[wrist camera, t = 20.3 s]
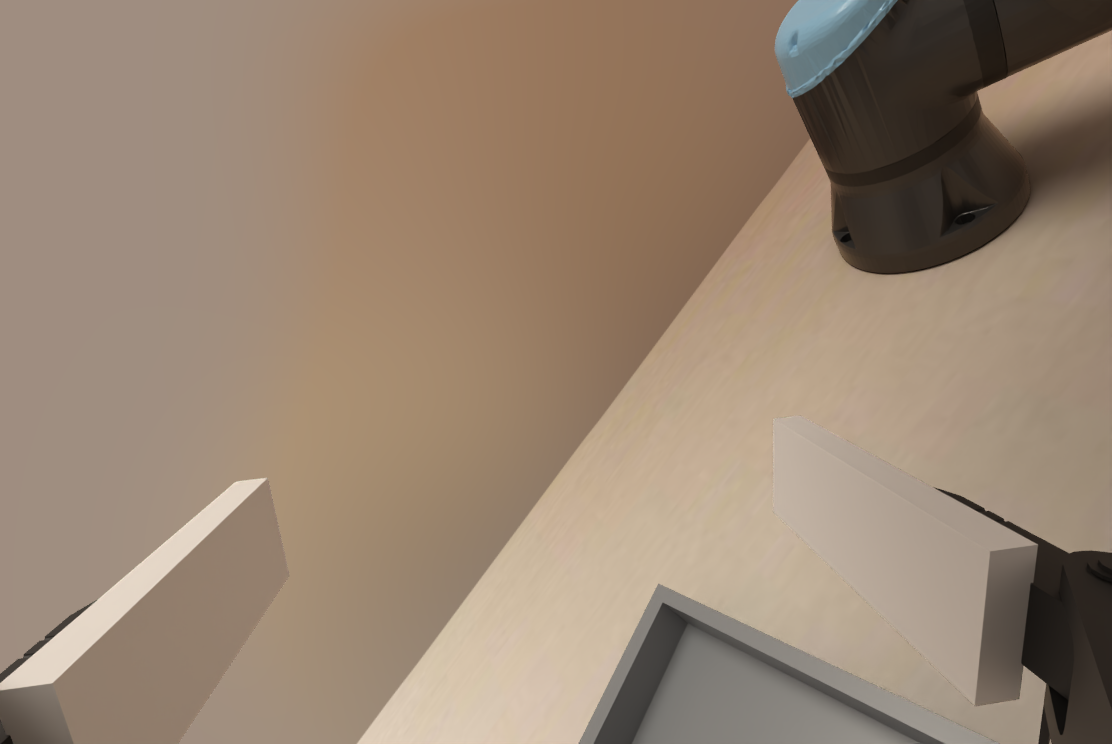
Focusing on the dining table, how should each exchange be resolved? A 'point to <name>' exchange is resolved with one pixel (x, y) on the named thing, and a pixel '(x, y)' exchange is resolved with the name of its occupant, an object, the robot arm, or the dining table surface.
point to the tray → (745, 690)
